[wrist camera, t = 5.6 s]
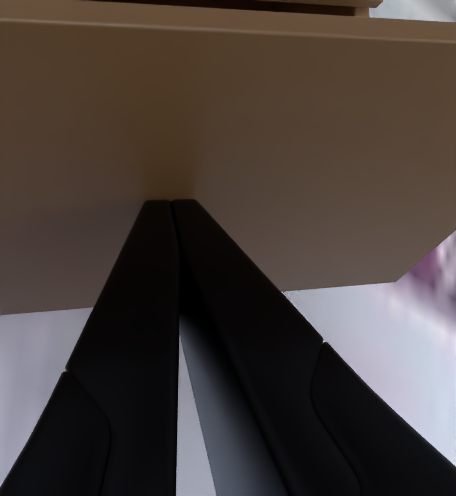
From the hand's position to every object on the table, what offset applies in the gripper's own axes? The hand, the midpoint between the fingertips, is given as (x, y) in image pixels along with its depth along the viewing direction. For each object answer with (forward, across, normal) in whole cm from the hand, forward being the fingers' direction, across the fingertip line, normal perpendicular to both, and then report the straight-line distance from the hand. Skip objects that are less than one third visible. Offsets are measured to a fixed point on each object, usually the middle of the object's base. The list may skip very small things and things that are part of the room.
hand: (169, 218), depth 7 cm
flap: (+1, 0, 0) cm, 1 cm away
